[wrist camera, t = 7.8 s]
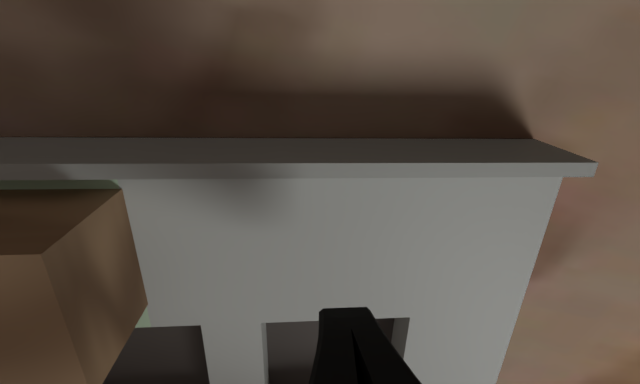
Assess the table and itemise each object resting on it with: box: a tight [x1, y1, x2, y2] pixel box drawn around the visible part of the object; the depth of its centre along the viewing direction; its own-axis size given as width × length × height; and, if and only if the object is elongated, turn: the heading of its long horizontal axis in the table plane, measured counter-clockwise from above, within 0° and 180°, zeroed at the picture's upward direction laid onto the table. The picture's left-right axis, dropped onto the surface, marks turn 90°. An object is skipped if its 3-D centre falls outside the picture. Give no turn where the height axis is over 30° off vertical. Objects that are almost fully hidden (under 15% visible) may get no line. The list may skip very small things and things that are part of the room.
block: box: [0, 189, 148, 384], centre depth 10 cm, size 5×5×4 cm
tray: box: [0, 137, 598, 384], centre depth 15 cm, size 15×22×3 cm
